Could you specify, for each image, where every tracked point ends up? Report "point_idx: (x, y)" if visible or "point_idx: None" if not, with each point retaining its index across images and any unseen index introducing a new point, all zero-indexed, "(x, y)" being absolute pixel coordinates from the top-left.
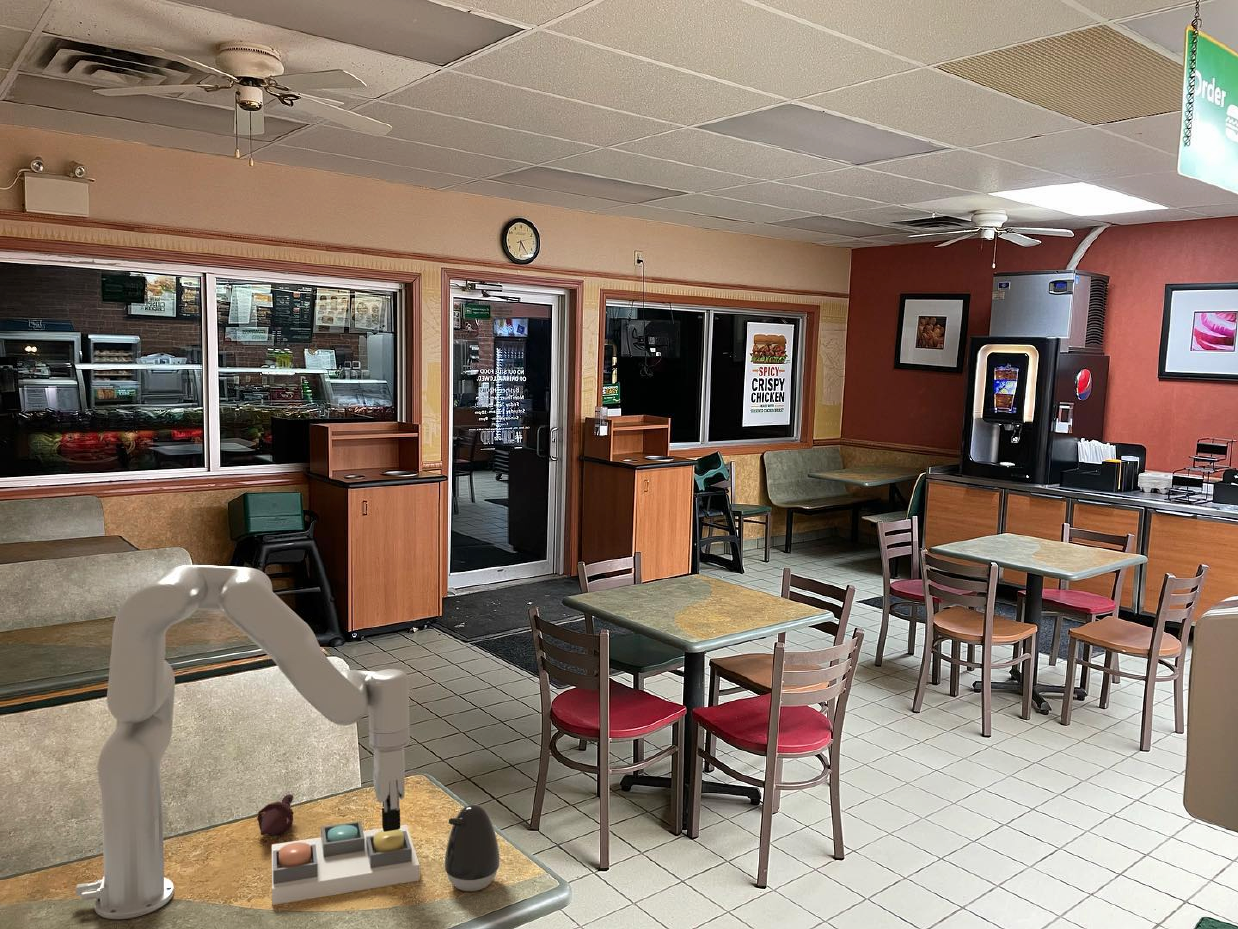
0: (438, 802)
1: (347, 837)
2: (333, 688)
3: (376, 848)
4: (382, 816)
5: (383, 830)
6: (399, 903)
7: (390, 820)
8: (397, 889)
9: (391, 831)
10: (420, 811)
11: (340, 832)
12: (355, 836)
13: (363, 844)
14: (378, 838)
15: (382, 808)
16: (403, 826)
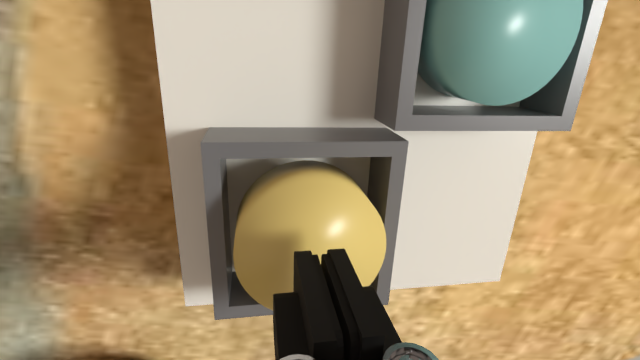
0: (615, 338)
1: (438, 43)
2: None
3: (273, 177)
4: (347, 297)
5: (295, 253)
6: (46, 199)
7: (275, 339)
8: (152, 201)
9: (353, 267)
10: (599, 296)
11: (509, 11)
12: (450, 89)
13: (385, 119)
14: (299, 204)
15: (378, 341)
16: (492, 270)
